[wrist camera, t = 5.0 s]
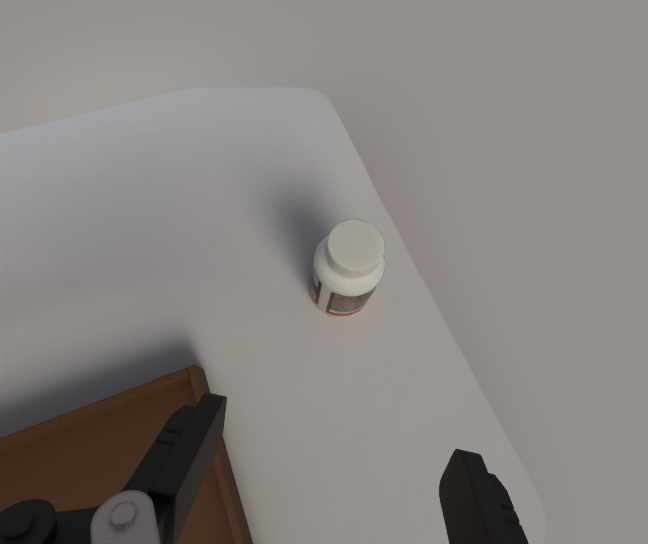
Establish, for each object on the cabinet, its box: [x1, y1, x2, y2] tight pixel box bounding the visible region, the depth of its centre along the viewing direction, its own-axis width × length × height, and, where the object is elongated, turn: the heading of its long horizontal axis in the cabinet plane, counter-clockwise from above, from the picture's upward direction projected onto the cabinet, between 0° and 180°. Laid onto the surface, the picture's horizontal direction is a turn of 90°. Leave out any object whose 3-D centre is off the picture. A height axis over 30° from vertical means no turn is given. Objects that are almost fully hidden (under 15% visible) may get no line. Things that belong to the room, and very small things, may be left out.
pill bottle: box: [311, 219, 385, 318], centre depth 29 cm, size 5×5×10 cm
